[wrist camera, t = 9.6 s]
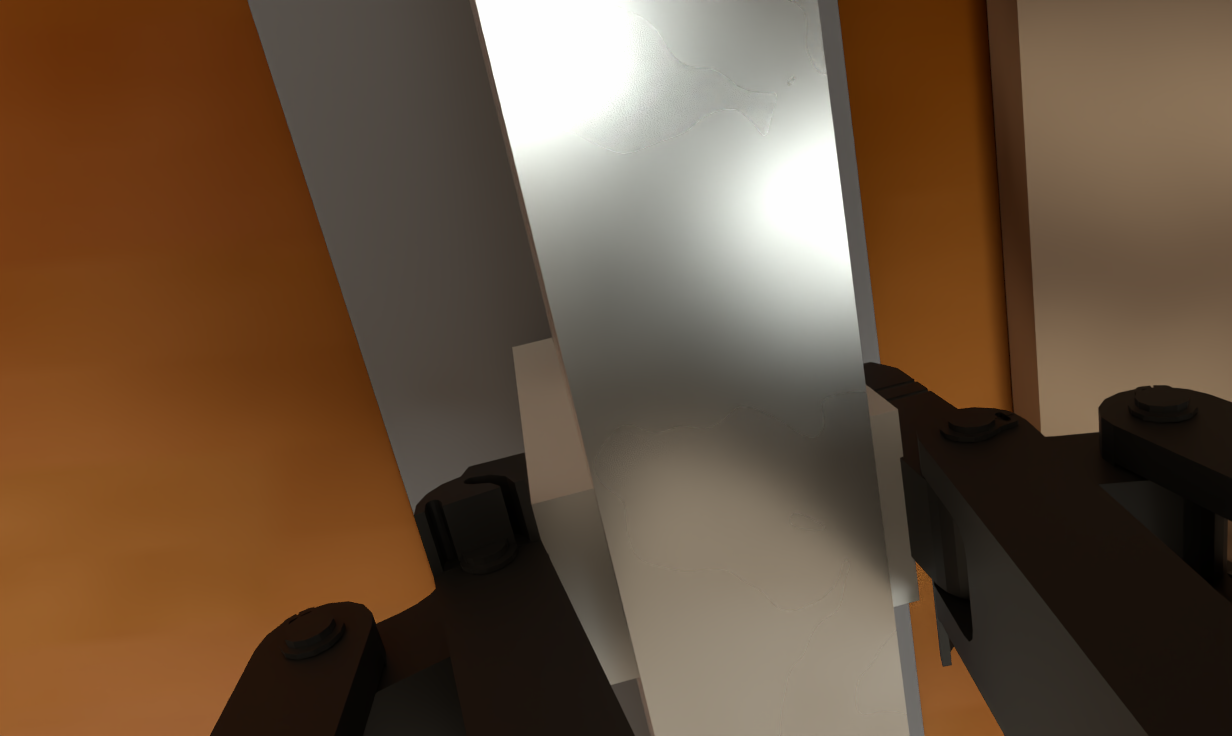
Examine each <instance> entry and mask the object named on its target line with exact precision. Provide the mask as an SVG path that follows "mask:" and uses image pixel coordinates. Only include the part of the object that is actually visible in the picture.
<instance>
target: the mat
mask: <svg viewBox="0 0 1232 736" xmlns="http://www.w3.org/2000/svg"><path fill="white" fill-rule="evenodd" d="M248 3H249V6H250V10H251V13H252V16H253V19H254V22H255V25H256V28H257V31H258V34H259V37H260V41H261V44H262V47H263V50H264V53H265V56H266V59H267V62H268V65H269V68H270V71H271V75H272V78H273V81H274V84H275V87H276V90H277V93H278V96H279V99H280V102H281V105H282V109H283V112H284V115H285V118H286V121H287V124H288V127H289V130H290V133H291V136H292V140H293V143H294V146H295V149H296V152H297V155H298V158H299V161H300V164H301V167H302V170H303V174H304V177H305V180H306V183H307V186H308V189H309V192H310V195H311V198H312V201H313V204H314V208H315V211H316V214H317V217H318V220H319V223H320V226H321V229H322V232H323V235H324V239H325V242H326V245H327V248H328V251H329V254H330V257H331V260H332V263H333V266H334V269H335V273H336V276H337V279H338V282H339V285H340V288H341V291H342V294H343V297H344V300H345V303H346V307H347V310H348V313H349V316H350V319H351V322H352V325H353V328H354V331H355V334H356V338H357V341H358V344H359V347H360V350H361V353H362V356H363V359H364V362H365V365H366V368H367V372H368V375H369V378H370V381H371V384H372V387H373V390H374V393H375V396H376V399H377V402H378V406H379V409H380V412H381V415H382V418H383V421H384V424H385V427H386V430H387V433H388V437H389V440H390V443H391V446H392V449H393V452H394V455H395V458H396V461H397V464H398V467H399V471H400V474H401V477H402V480H403V483H404V486H405V489H406V492H407V495H408V498H409V501H410V505H411V508H412V511H413V514H414V512H415V508H416V505H417V504H418V503H419V501H420V500H421V499H422V498H423V497H424V496H425V495H426V494H427V493H429V492H430V491H432V490H434V489H435V488H437V487H438V486H440V485H442V484H443V483H446V482H448V481H451V480H453V479H456V478H458V477H461V475H462V474H463V473H464V472H465V470H466V469H467V468H468V467H469V466H473V465H477V464H481V463H485V462H489V461H493V460H497V459H501V458H505V457H508V456H512V455H516V454H520V453H524V452H525V448H524V440H523V431H522V423H521V415H520V407H519V399H518V390H517V382H516V374H515V366H514V357H513V349H512V347H516V346H520V345H524V344H528V343H532V342H536V341H540V340H544V339H548V338H552V334H551V330H550V326H549V322H548V318H547V314H546V310H545V306H544V302H543V298H542V294H541V290H540V286H539V282H538V277H537V273H536V269H535V265H534V261H533V257H532V253H531V249H530V245H529V241H528V237H527V233H526V229H525V225H524V221H523V217H522V212H521V208H520V204H519V200H518V196H517V192H516V188H515V184H514V180H513V176H512V172H511V168H510V164H509V160H508V156H507V152H506V147H505V143H504V139H503V135H502V131H501V127H500V123H499V119H498V115H497V111H496V107H495V103H494V99H493V95H492V91H491V86H490V82H489V78H488V74H487V70H486V66H485V62H484V58H483V54H482V50H481V46H480V42H479V38H478V34H477V30H476V26H475V21H474V17H473V13H472V9H471V5H470V1H469V0H248ZM818 8H819V16H820V24H821V32H822V40H823V48H824V56H825V64H826V72H827V80H828V88H829V96H830V104H831V112H832V120H833V128H834V136H835V144H836V152H837V160H838V168H839V176H840V184H841V192H842V200H843V208H844V216H845V224H846V232H847V240H848V248H849V256H850V264H851V272H852V280H853V288H854V295H855V303H856V311H857V319H858V327H859V335H860V343H861V351H862V359H863V364H864V363H868V362H874V363H878V364H880V357H879V348H878V340H877V331H876V323H875V314H874V306H873V297H872V289H871V281H870V272H869V264H868V255H867V247H866V238H865V230H864V221H863V213H862V204H861V196H860V187H859V179H858V171H857V162H856V154H855V145H854V137H853V128H852V120H851V111H850V103H849V94H848V86H847V77H846V69H845V61H844V52H843V44H842V35H841V27H840V18H839V10H838V1H837V0H818ZM552 340H553V338H552ZM553 343H554V342H553ZM894 615H895V623H896V631H897V639H898V647H899V655H900V663H901V671H902V679H903V687H904V695H905V703H906V711H907V719H908V727H909V735H910V736H924V729H923V721H922V712H921V704H920V695H919V687H918V678H917V670H916V661H915V653H914V644H913V636H912V627H911V619H910V611H909V603H907V604H903V605H900V606H896V607H894ZM611 687H612V689H613V691H614V693H615V695H616V697H617V699H618V701H619V703H620V705H621V708H622V710H623V712H624V714H625V716H626V718H627V720H628V722H629V724H630V726H631V728H632V730H633V733H634V735H635V736H650V733H649V728H648V724H647V720H646V716H645V712H644V708H643V704H642V700H641V696H640V692H639V688H638V684H637V680H636V678H635V679H631V680H628V681H624V682H620V683H617V684H613V685H611Z"/></svg>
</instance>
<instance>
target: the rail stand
mask: <svg viewBox="0 0 1232 736" xmlns="http://www.w3.org/2000/svg"><path fill="white" fill-rule="evenodd" d="M986 1H987V16H988V31H989V46H990V61H991V76H992V91H993V106H994V122H995V137H996V152H997V167H998V182H999V197H1000V212H1001V227H1002V242H1003V257H1004V272H1005V287H1006V302H1007V317H1008V332H1009V348H1010V363H1011V378H1012V393H1013V408H1014V413H1015V414H1017V415H1019V416H1020V417H1022V418H1024V419H1026V420H1027V421H1028V422H1029V423H1030V424H1032V425H1033V426H1034V427H1035V428H1036V429H1037V430H1038V431H1039V432H1041V433H1042V434H1043V435H1044V436H1045V437H1046V436H1062V435H1072V434H1083V433H1093V432H1099V417H1098V407H1099V406H1100V405H1101V403H1102V402H1103V401H1104V399H1106V398H1108V397H1111V396H1113V395H1115V394H1117V393H1119V392H1124V391H1129V390H1133V389H1136V388H1137V387H1141V386H1151V387H1153V385H1168V386H1171V387H1172V388H1183V389H1190V390H1194V391H1199V392H1203V393H1207V394H1210V395H1213V396H1216V397H1219V398H1222V399H1224V400H1227V401H1230V402H1232V0H986ZM1227 560H1229V561H1230V562H1232V522H1231V521H1229V520H1228V536H1227Z"/></svg>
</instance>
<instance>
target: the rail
mask: <svg viewBox="0 0 1232 736" xmlns="http://www.w3.org/2000/svg"><path fill="white" fill-rule="evenodd" d="M469 1H470V5H471V9H472V13H473V17H474V21H475V26H476V30H477V34H478V38H479V42H480V46H481V50H482V54H483V58H484V62H485V66H486V70H487V74H488V78H489V82H490V86H491V91H492V95H493V99H494V103H495V107H496V111H497V115H498V119H499V123H500V127H501V131H502V135H503V139H504V143H505V147H506V152H507V156H508V160H509V164H510V168H511V172H512V176H513V180H514V184H515V188H516V192H517V196H518V200H519V204H520V208H521V212H522V217H523V221H524V225H525V229H526V233H527V237H528V241H529V245H530V249H531V253H532V257H533V261H534V265H535V269H536V273H537V277H538V282H539V286H540V290H541V294H542V298H543V302H544V306H545V310H546V314H547V318H548V322H549V326H550V330H551V334H552V338H553V342H554V347H555V351H556V355H557V359H558V363H559V367H560V371H561V375H562V379H563V383H564V386H565V390H566V393H567V397H568V401H569V404H570V408H571V411H572V415H573V419H574V422H575V426H576V429H577V433H578V436H579V440H580V444H581V447H582V451H583V454H584V458H585V462H586V465H587V469H588V472H589V476H590V479H591V483H592V487H593V490H594V494H595V499H596V503H597V507H598V511H599V515H600V519H601V523H602V527H603V531H604V535H605V539H606V544H607V548H608V552H609V556H610V560H611V564H612V568H613V572H614V576H615V580H616V584H617V589H618V593H619V597H620V601H621V605H622V609H623V613H624V617H625V621H626V625H627V629H628V633H629V638H630V642H631V646H632V650H633V654H634V658H635V662H636V666H637V670H638V674H639V678H636V680H637V684H638V688H639V692H640V696H641V700H642V704H643V708H644V712H645V716H646V720H647V724H648V728H649V733H650V736H910V735H909V727H908V719H907V711H906V703H905V695H904V687H903V679H902V671H901V663H900V655H899V647H898V639H897V631H896V623H895V615H894V607H893V599H892V591H891V583H890V575H889V567H888V559H887V551H886V543H885V535H884V527H883V519H882V511H881V503H880V495H879V487H878V479H877V471H876V463H875V455H874V447H873V439H872V431H871V423H870V415H869V407H868V399H867V391H866V383H865V375H864V367H863V359H862V351H861V343H860V335H859V327H858V319H857V311H856V303H855V295H854V288H853V280H852V272H851V264H850V256H849V248H848V240H847V232H846V224H845V216H844V208H843V200H842V192H841V184H840V176H839V168H838V160H837V152H836V144H835V136H834V128H833V120H832V112H831V104H830V96H829V88H828V80H827V72H826V64H825V56H824V48H823V40H822V32H821V24H820V16H819V8H818V0H469Z"/></svg>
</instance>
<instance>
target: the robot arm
mask: <svg viewBox="0 0 1232 736" xmlns="http://www.w3.org/2000/svg"><path fill="white" fill-rule="evenodd" d="M512 349H513V357H514V366H515V374H516V382H517V390H518V399H519V407H520V415H521V423H522V431H523V440H524V448H525V452H524V453H520V454H516V455H512V456H508V457H505V458H501V459H497V460H493V461H489V462H485V463H481V464H477V465H473V466H469V467H468V468H467V469H466V470H465V472H464V473H463V474H462V475H461V477H458V478H456V479H453V480H451V481H448V482H446V483H443V484H442V485H440V486H438V487H437V488H435V489H434V490H432V491H430V492H429V493H427V494H426V495H425V496H424V497H423V498H422V499H421V500H420V501H419V503H418V504H417V505H416V508H415V512H414V517H415V521H416V524H417V527H418V530H419V533H420V536H421V539H422V542H423V545H424V548H425V551H426V555H427V558H428V561H429V564H430V567H431V570H432V573H433V576H434V581H435V586H436V589H435V590H434V591H433V592H432V593H431V594H430V595H429V596H428V597H426V598H425V599H423V600H422V601H421V602H419V603H418V604H416V605H414V606H412V607H411V608H409V609H407V610H405V611H403V612H401V613H399V614H397V615H395V616H393V617H390V618H388V619H386V620H384V621H382V622H379V623H377V624H376V623H375V620H374V617H373V614H372V612H371V611H370V610H369V609H367V608H366V607H365V606H364V605H363V604H358V603H353V602H338V603H329V604H325V605H322V606H319V607H316V608H314V607H313V608H308V609H306V610H304V611H301V612H299V614H298V615H296V614H295V615H293V616H292V617H290V618H288V619H287V620H285V621H284V622H283V623H282V624H281V625H280V626H278V627H277V628H276V629H274V630H273V631H272V632H271V633H269V634H268V635H267V636H266V637H265V638H264V639H263V641H262V642H261V643H260V644H259V646H258V647H257V648H256V650H255V651H254V653H253V655H252V657H251V659H250V660H249V662H248V664H247V666H246V668H245V670H244V672H243V674H242V676H241V678H240V679H239V681H238V683H237V685H236V687H235V689H234V691H233V693H232V695H231V697H230V698H229V700H228V702H227V704H226V706H225V708H224V710H223V712H222V714H221V716H220V717H219V719H218V721H217V723H216V725H215V727H214V729H213V731H212V733H211V735H210V736H635V735H634V733H633V730H632V728H631V726H630V724H629V722H628V720H627V718H626V716H625V714H624V712H623V710H622V708H621V705H620V703H619V701H618V699H617V697H616V695H615V693H614V691H613V689H612V687H611V685H613V684H617V683H620V682H624V681H628V680H631V679H635V678H639V674H638V670H637V666H636V662H635V658H634V654H633V650H632V646H631V642H630V638H629V633H628V629H627V625H626V621H625V617H624V613H623V609H622V605H621V601H620V597H619V593H618V589H617V584H616V580H615V576H614V572H613V568H612V564H611V560H610V556H609V552H608V548H607V544H606V539H605V535H604V531H603V527H602V523H601V519H600V515H599V511H598V507H597V503H596V499H595V494H594V490H593V487H592V483H591V479H590V476H589V472H588V469H587V465H586V462H585V458H584V454H583V451H582V447H581V444H580V440H579V436H578V433H577V429H576V426H575V422H574V419H573V415H572V411H571V408H570V404H569V401H568V397H567V393H566V390H565V386H564V383H563V379H562V375H561V371H560V367H559V363H558V359H557V355H556V351H555V347H554V343H553V340H552V338H548V339H544V340H540V341H536V342H532V343H528V344H524V345H520V346H516V347H512ZM863 367H864V375H865V383H866V391H867V399H868V407H869V415H870V423H871V431H872V439H873V447H874V455H875V463H876V471H877V479H878V487H879V495H880V503H881V511H882V519H883V527H884V535H885V543H886V551H887V559H888V567H889V575H890V583H891V591H892V599H893V607H896V606H900V605H903V604H907V603H910V602H914V601H918V600H919V591H918V582H917V573H916V564H915V561H916V562H917V563H918V564H919V565H920V566H921V568H922V569H923V570H924V571H925V572H926V573H927V574H928V575H929V576H930V577H931V578H932V582H933V592H934V601H935V610H936V620H937V629H938V638H939V648H940V656H941V660H942V665H943V666H949V665H952V663H951V654H950V652H951V650H952V649H953V647H955V648H956V650H957V652H958V654H959V655H960V657H961V659H962V661H963V663H964V664H965V666H966V668H967V670H968V671H969V673H970V675H971V677H972V678H973V680H974V682H975V684H976V686H977V687H978V689H979V691H980V693H981V694H982V696H983V698H984V700H985V701H986V703H987V705H988V707H989V708H990V710H991V712H992V714H993V716H994V717H995V719H996V721H997V723H998V724H999V726H1000V728H1001V730H1002V731H1003V733H1004V735H1005V736H1232V562H1230V561H1229V560H1227V536H1228V520H1229V521H1231V522H1232V402H1230V401H1227V400H1224V399H1222V398H1219V397H1216V396H1213V395H1210V394H1207V393H1203V392H1199V391H1194V390H1190V389H1183V388H1172V387H1171V386H1168V385H1153V387H1151V386H1141V387H1137V388H1136V389H1133V390H1129V391H1124V392H1119V393H1117V394H1115V395H1113V396H1111V397H1108V398H1106V399H1104V401H1103V402H1102V403H1101V405H1100V406H1099V407H1098V417H1099V432H1093V433H1083V434H1072V435H1062V436H1046V437H1045V436H1044V435H1043V434H1042V433H1041V432H1039V431H1038V430H1037V429H1036V428H1035V427H1034V426H1033V425H1032V424H1030V423H1029V422H1028V421H1027V420H1026V419H1024V418H1022V417H1020V416H1019V415H1017V414H1015V413H1013V412H1009V411H1006V410H1000V409H996V408H976V407H973V408H964V409H957V408H955V407H954V406H952V405H951V404H949V403H948V402H946V401H945V400H943V399H942V398H941V397H939V396H938V395H936V394H935V393H933V392H932V391H928V390H927V388H926V387H924V386H923V385H921V384H920V383H918V382H914V379H913V378H911V377H910V376H908V375H907V374H905V373H904V372H902V371H901V370H899V369H898V368H894V367H890V366H886V365H882V364H878V363H874V362H868V363H864V364H863Z"/></svg>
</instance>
